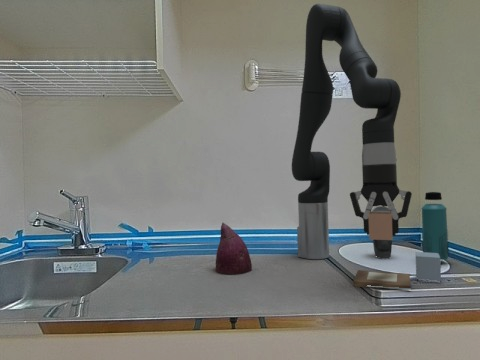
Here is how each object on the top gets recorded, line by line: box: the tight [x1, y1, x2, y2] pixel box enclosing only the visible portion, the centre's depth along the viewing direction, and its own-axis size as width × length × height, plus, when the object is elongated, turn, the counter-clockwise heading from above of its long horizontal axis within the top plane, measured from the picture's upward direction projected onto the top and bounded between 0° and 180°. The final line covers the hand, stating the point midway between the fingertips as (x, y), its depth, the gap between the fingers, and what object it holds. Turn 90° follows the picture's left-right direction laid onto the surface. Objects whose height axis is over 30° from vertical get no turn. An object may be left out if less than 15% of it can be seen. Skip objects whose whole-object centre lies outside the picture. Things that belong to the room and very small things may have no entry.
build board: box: [352, 269, 412, 289], centre depth 85 cm, size 12×10×1 cm
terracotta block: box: [368, 211, 394, 241], centre depth 84 cm, size 5×5×6 cm
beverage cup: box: [371, 205, 393, 259], centre depth 110 cm, size 7×7×20 cm
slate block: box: [415, 251, 442, 282], centre depth 86 cm, size 5×5×6 cm
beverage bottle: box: [421, 191, 450, 261], centre depth 101 cm, size 6×7×20 cm
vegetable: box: [215, 221, 253, 276], centre depth 100 cm, size 10×10×15 cm
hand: (381, 234), depth 85 cm, fingers closed on terracotta block, 5 cm apart
